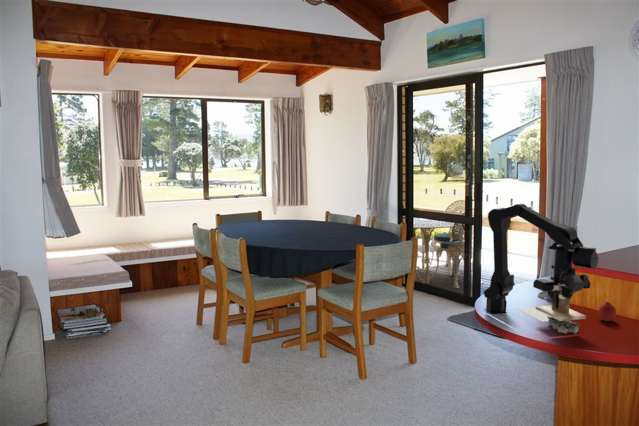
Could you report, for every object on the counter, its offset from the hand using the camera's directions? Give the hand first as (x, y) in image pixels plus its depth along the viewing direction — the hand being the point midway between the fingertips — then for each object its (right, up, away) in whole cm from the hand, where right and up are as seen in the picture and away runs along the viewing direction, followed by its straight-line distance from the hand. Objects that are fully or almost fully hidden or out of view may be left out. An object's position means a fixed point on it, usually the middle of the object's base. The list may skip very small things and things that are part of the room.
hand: (560, 308), depth 189 cm
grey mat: (+1, -5, +17) cm, 17 cm away
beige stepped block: (0, -2, 0) cm, 2 cm away
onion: (+21, -7, +9) cm, 24 cm away
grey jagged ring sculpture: (+1, -8, +1) cm, 8 cm away
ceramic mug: (+13, -3, +38) cm, 40 cm away
